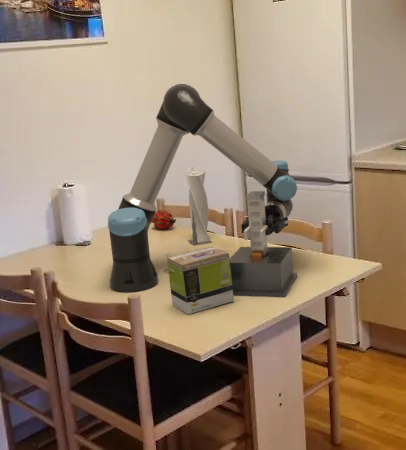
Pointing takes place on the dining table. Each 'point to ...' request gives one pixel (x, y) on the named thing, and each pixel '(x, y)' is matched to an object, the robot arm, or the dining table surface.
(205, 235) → the skyscraper
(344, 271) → the dining table surface
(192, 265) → the tea box
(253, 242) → the column
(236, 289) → the stand base
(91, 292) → the dining table surface
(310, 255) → the dining table surface
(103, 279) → the dining table surface
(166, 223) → the dragon fruit
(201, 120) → the robot arm
